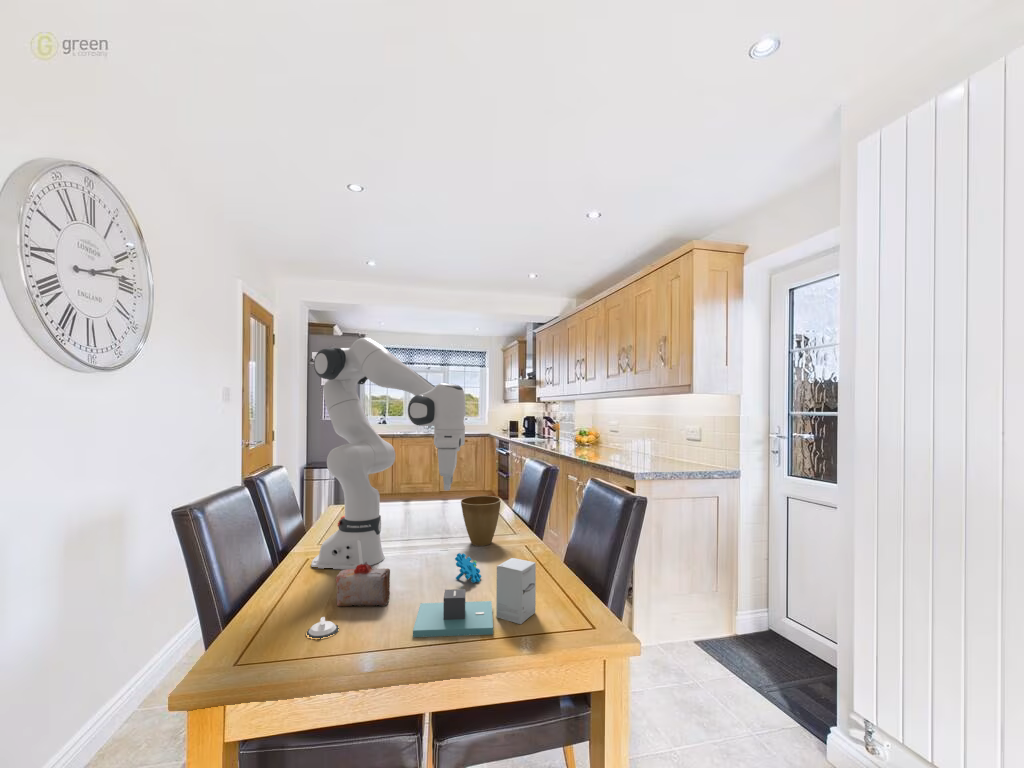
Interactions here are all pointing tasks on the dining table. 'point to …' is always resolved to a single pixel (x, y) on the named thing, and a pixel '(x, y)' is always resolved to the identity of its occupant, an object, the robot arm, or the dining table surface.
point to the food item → (363, 586)
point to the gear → (467, 568)
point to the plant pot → (481, 518)
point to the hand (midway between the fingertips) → (448, 486)
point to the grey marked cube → (454, 604)
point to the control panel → (473, 624)
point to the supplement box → (516, 590)
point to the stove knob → (322, 629)
